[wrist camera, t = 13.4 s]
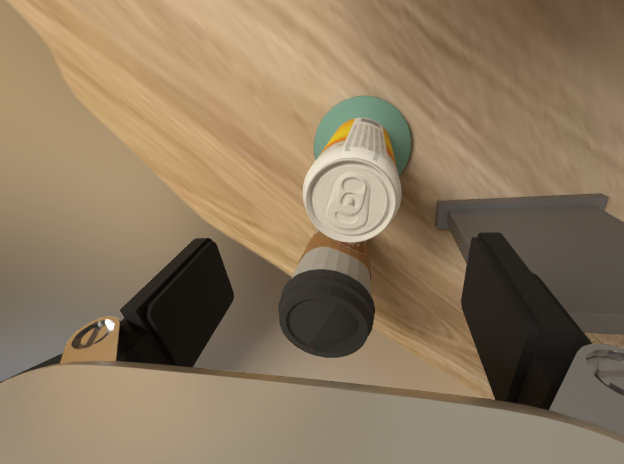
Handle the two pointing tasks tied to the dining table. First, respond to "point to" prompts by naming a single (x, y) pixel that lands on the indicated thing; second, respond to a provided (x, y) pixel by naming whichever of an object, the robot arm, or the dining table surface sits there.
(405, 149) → the coaster
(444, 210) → the screen
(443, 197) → the dining table surface
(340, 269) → the coffee cup
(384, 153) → the beer can
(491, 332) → the robot arm
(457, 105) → the dining table surface
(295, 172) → the dining table surface
